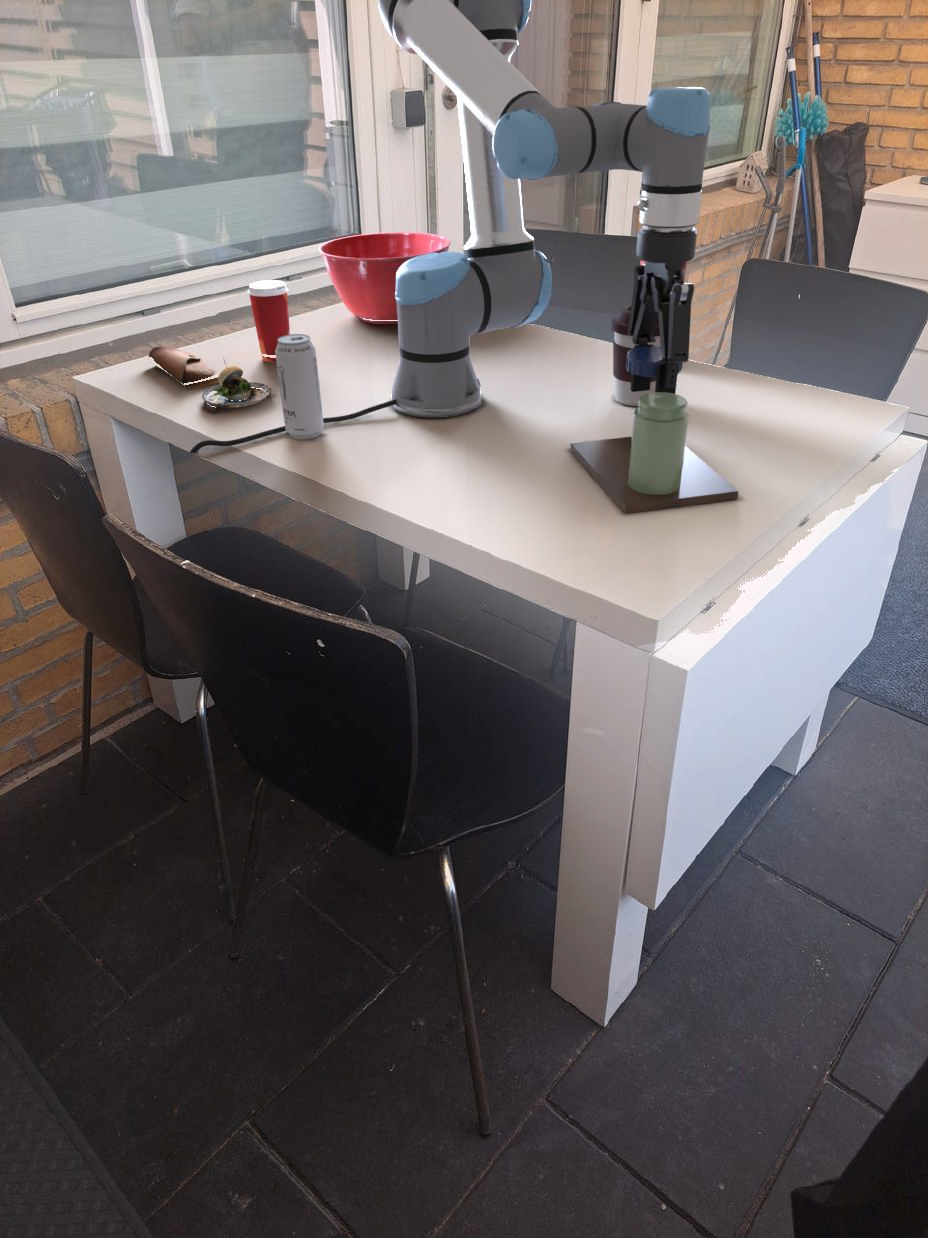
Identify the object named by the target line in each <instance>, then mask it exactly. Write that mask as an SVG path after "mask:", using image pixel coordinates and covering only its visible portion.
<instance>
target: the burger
mask: <svg viewBox="0 0 928 1238" xmlns="http://www.w3.org/2000/svg"><path fill="white" fill-rule="evenodd" d="M222 358H223V361H224V364H225V367H224V368H223V369H222V370H221V372H220V373H219V374H220V375H219V383H218V384H217V385H215V386H211V387H210V388H207V390H204V391H203V393H202V394H201V399H202V400H203V401H202V407H203V408H204V409H205V410H207V411H210V412H212V413H216V412H217V408H218V407H220V406H223V407H222V408H233V409H235V408H242V407H243V408H244V407H246V406H251V405H254V404H257V403H258V404H259V403H260V402H261V401H263V400H265V399H266V397H272V394H273V389H272V387H269V386H268V385H267V384H265V383H260V382H255V381H253V382H252V381H251V382H249V381H248V380H247V379H246V378H243V377H242V376H243V374H244V370H242V368H241V367H239V366H235V365H230V366H229V365H228V366H227V363H226V360H225V358H224V356H222ZM251 387H255V388H251ZM256 388H262V389H263V390H265V391H266V392H267V393H268V394H266V392H265V391H263V390H261V389H256ZM212 391H217V393H215V394H213V395H212V396H210V397H209V401H207V400H206V398H207V395H208V394H209V393H210V392H212ZM226 398H227V399H228V400H227V399H226ZM246 398H247V399H246ZM244 399H245V400H244ZM231 400H233V401H231ZM239 400H241V401H239ZM258 401H259V402H258ZM207 403H208V404H209V405H208V404H207ZM210 405H211V406H215V407H217V408H215V407H211V406H210ZM237 406H238V407H237Z"/></svg>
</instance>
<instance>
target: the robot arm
mask: <svg viewBox="0 0 928 1238" xmlns="http://www.w3.org/2000/svg"><path fill="white" fill-rule="evenodd" d="M377 6H378V11H379V14H380V19H381V20H382V23H383V26H384V27H385V30H387V32H388V33H389V35H390V37H392V39H393V40H394V41H395V42H396V44H398V45H399V47H400V48H401V49H403V50H404V51H405V52H407V53H409V54H412V55H419V56H420V58H421V59H422V60H423V61H424V62H425V63H426V64H427V66H429V68H430V69H431V70H432V71H433V72H434V73H435V74H436V75H437V76H438V77H439V78H440V80H442V81H443V83H444V84H445V85H446V87H448V88H449V89H450V91H452V92H453V94H454V95H455V96H456V99H457V109H458V120H459V127H460V129H459V130H460V136H461V146H462V155H463V166H464V167H463V168H464V175H465V183H466V184H465V186H466V194H467V195H466V196H467V203H468V214H469V222H470V233H471V235H470V237H469V238H468V241H467V242H466V244H465V245H464V246H463V253H462V252H459V251H449V250H448V251H446V252H441V253H429V254H425V255H421V256H418V257H415V258H412V259H410V260H408V261H406V262H405V263H403V264H402V265H401V267H400V268H399V269H398V271H397V274H396V292H395V298H396V301H397V317H398V324H397V331H398V345H399V346H398V347H399V362H398V365H397V370H396V373H395V377H394V381H393V385H392V389H391V396H390V397H391V400H389V401H385V402H383V403H379V404H376V405H373V406H370V407H367V408H364V409H362V410H359V411H357V412H353V413H350V414H344V415H339V416H331V417H323V423H324V424H330V423H336V422H337V423H338V422H344V421H348V420H353V419H356V418H360V417H363V416H366V415H368V414H370V413H373V412H376V411H380V410H383V409H386V408H389V407H393V409H394V410H396V411H397V412H399V413H401V414H404V415H406V416H411V417H416V418H425V419H426V418H427V419H437V418H438V419H441V418H450V417H451V418H452V417H456V416H462V415H464V414H467V413H470V412H472V411H474V410H476V409H478V407H480V406H481V404H482V390H481V383H480V380H479V378H477V375H476V370H475V368H474V365H473V361H472V359H471V351H470V349H471V348H470V347H471V346H470V345H471V344H470V343H471V339H470V338H471V336H473V335H474V336H475V335H479V334H484V333H490V332H493V331H494V332H495V331H499V330H503V329H508V328H510V329H511V328H515V329H516V328H518V327H520V326H522V325H526V324H530V323H533V322H535V321H536V320H538V319H539V318H540V317H541V316H542V315H543V314H544V311H545V310H546V309H547V307H548V305H549V302H550V299H551V295H552V289H553V275H552V274H553V273H552V268H551V265H550V263H549V262H547V257H546V255H544V253H543V252H541V251H539V250H537V249H536V246H535V237H533V236H532V235H531V234H529V233H528V232H527V231H526V229H525V227H524V214H523V203H522V192H521V191H522V190H521V180H528V181H535V180H541V179H545V178H552V177H559V176H560V177H561V176H567V175H575V174H585V173H586V174H587V173H594V172H606V171H614V170H623V171H633V172H640V173H641V176H642V177H641V185H640V190H641V192H640V200H638V201H637V208H638V209H639V216H638V217H639V218H638V222H639V224H640V225H641V227H640V228H639V229H638V230H637V236H636V238H637V239H636V249H635V254H636V255H635V256H636V258H637V259H638V260H640V262H641V261H644V262H646V264H645V265H640V264H635V266H634V269H633V270H634V272H633V273H634V277H633V278H634V279H633V280H634V283H633V290H632V297H631V304H630V306H631V311H630V318H629V326H628V335H629V336H632V342H633V344H635V346H634V348H638V347H645V346H654V345H652V344H648V343H653V342H656V340H655V338H654V337H653V333H654V329H655V326H656V322H657V319H658V315H659V330H660V346H661V360H659V361H656V363H657V376H656V386H655V392H666V393H673V394H676V393H677V392H676V391H677V382H678V374H679V373H678V365H679V363H683V364H684V363H688V362H689V357H690V339H691V338H690V335H691V333H690V332H691V314H692V302H693V301H692V300H693V296H694V293H695V285H694V283H692V282H691V283H686V282H685V281H684V282H683V264H684V263H685V262H690V261H692V260H693V259H694V258H695V255H696V245H697V237H698V231H697V230H696V228H695V226H696V225H698V224H699V220H700V212H701V204H702V195H703V179H704V171H705V163H706V153H707V147H708V140H709V133H710V130H711V122H710V121H711V119H710V117H711V99H712V98H711V93H710V92H709V91H708V90H707V89H706V88H704V87H701V86H700V87H696V86H689V87H687V86H685V87H684V86H669V87H656V88H653V89H652V90H651V91H650V92H649V94H648V99H647V105H645V104H632V103H622V102H619V101H610V102H606V101H605V102H599V103H594V104H592V105H585V106H571V107H558V106H554V105H553V103H552V102H550V100H549V99H547V98H546V97H545V96H544V95H543V94H542V93H541V92H540V91H539V90H538V89H537V88H536V87H535V86H534V84H532V83H531V82H530V81H529V80H528V79H527V78H526V76H524V75H523V74H522V73H521V72H520V70H518V68H516V67H515V65H513V63H512V62H511V57H512V56H513V54H514V53H515V51H516V49H517V48H518V47H519V34H520V33H521V32H522V31H523V30H524V28H525V27H526V25H527V23H528V22H529V21H528V20H529V14H528V13H529V12H530V11H531V10H532V9H531V7H532V0H377ZM669 303H670V304H669ZM635 325H636V326H635ZM650 383H651V377H644V376H639V375H635V374H632V378H631V391H632V392H638V391H647V390H650ZM283 432H287V431H286V429H285V425H282V426H279V427H276V428H272V429H268V430H264V431H260V432H258V433H254V434H251V435H247V436H243V437H240V438H235V439H231V440H217V439H206V440H202V441H199V442H197V443H196V444H195V445H194V446H193V447H192V448H191V449H190V451H189V454H196V453H197V452H199V450H201V449H202V448H203V447H209V446H212V447H213V446H214V447H232V446H236V445H241V444H245V443H249V442H253V441H255V440H259V439H262V438H265V437H268V436H272V435H277V434H279V433H283Z"/></svg>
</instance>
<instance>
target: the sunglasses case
mask: <svg viewBox="0 0 928 1238" xmlns="http://www.w3.org/2000/svg"><path fill="white" fill-rule="evenodd" d="M149 357H152V358H153V359H154V361H155V362H156V363H157V364H159V365H160V366H161V367H162V368H163V369H164V370H166V371H167V372H168V373H169V374H171V375H172V376H173V377H174V378H175V379H177V380H178V381H179V382H181V383H183V384H184V383H188V382H194V381H198V380H201V379H205V378H208V377H211V376H213V375H215V373H216V372H217V370H215V369H214V368H213V367H211V366H210V365H208V364H207V363H206V362H204V361H203V360H202V358H201V357H200V356H197V355H196V354H193V353H190V352H187V351H183V350H181V349H178V348H174V347H168V346H154V347H152V348H151V349H150V351H149V353H148V358H149ZM174 378H173V379H174ZM175 379H174V380H175ZM177 380H176V381H177ZM178 381H177V382H178ZM179 382H178V383H179ZM218 384H220V383H219V377H217V378H214V379H210V380H206V381H202V382H198V383H193V384H189V385H185V386H184V387H185V388H186V389H188V390H195V389H202V388H206V387H210V386H211V387H212V386H214V385H218Z"/></svg>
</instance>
